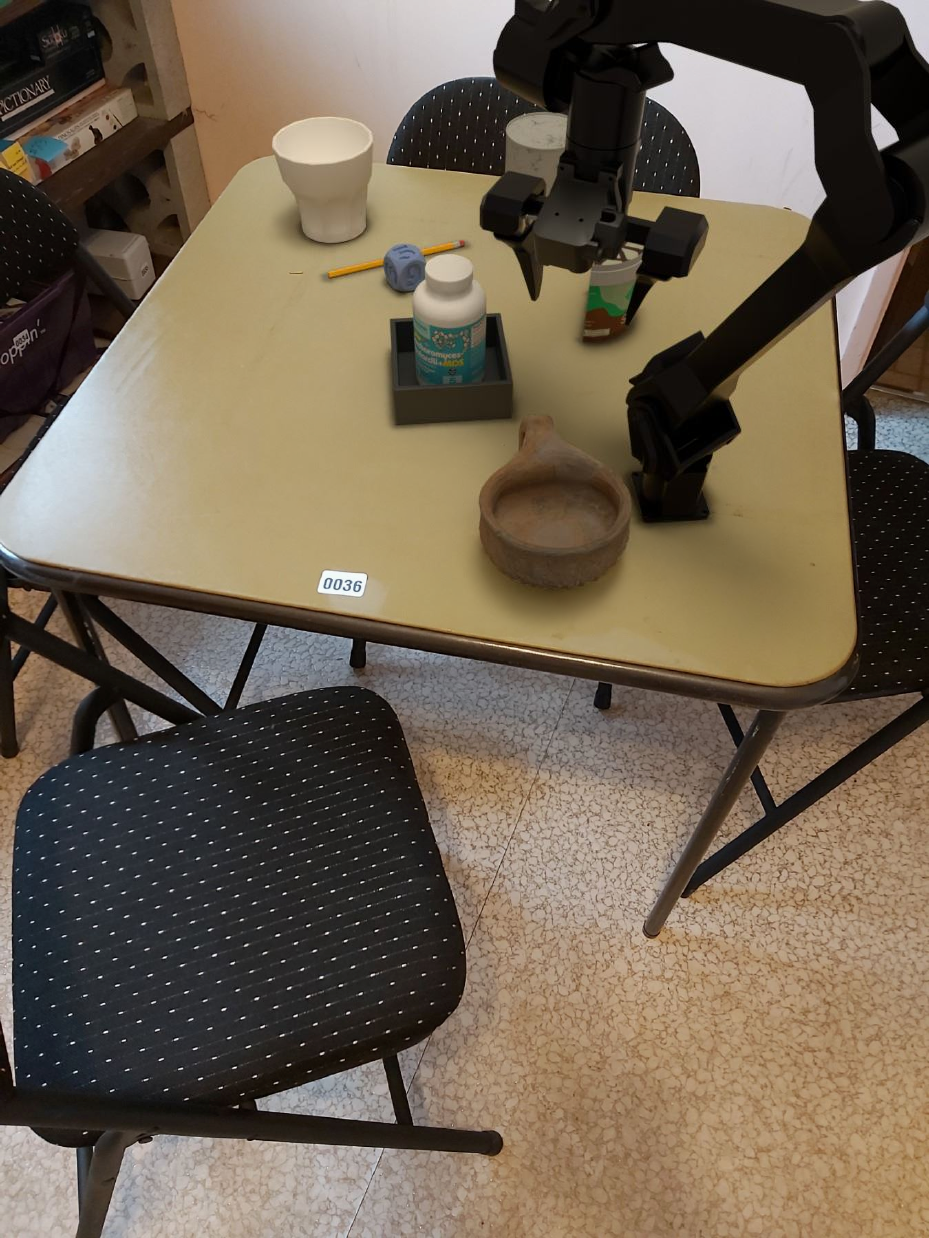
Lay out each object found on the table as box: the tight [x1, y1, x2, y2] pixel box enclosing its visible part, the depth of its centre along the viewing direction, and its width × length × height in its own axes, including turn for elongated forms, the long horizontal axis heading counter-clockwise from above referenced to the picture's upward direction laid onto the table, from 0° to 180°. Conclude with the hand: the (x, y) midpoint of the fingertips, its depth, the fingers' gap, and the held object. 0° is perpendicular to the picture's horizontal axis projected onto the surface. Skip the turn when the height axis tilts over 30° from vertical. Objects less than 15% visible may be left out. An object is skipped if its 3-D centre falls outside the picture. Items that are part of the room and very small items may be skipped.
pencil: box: [327, 239, 466, 279], centre depth 106 cm, size 1×18×1 cm, turn 113°
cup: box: [271, 116, 374, 244], centre depth 107 cm, size 12×12×11 cm
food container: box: [582, 241, 644, 343], centre depth 95 cm, size 12×6×10 cm, turn 168°
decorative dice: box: [382, 243, 427, 293], centre depth 102 cm, size 4×4×4 cm
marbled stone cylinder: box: [504, 111, 568, 197], centre depth 106 cm, size 10×10×12 cm
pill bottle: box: [412, 253, 487, 385], centre depth 86 cm, size 8×7×14 cm
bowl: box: [478, 413, 633, 591], centre depth 75 cm, size 18×14×10 cm
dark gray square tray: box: [389, 312, 514, 426], centre depth 90 cm, size 12×12×4 cm
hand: (581, 311), depth 78 cm, fingers open, 9 cm apart
